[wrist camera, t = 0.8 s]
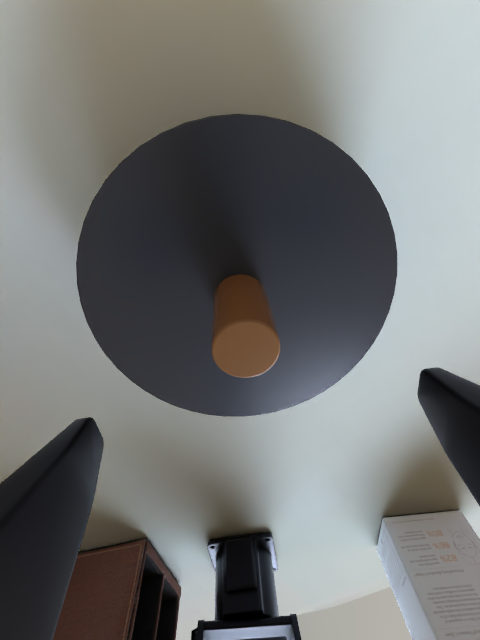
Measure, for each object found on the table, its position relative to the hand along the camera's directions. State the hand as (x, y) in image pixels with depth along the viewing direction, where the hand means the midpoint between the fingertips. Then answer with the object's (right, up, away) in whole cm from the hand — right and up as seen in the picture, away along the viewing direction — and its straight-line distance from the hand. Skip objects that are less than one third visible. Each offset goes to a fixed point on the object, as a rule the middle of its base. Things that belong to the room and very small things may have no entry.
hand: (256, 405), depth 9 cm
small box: (+18, -19, +25) cm, 36 cm away
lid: (-1, +4, +7) cm, 8 cm away
